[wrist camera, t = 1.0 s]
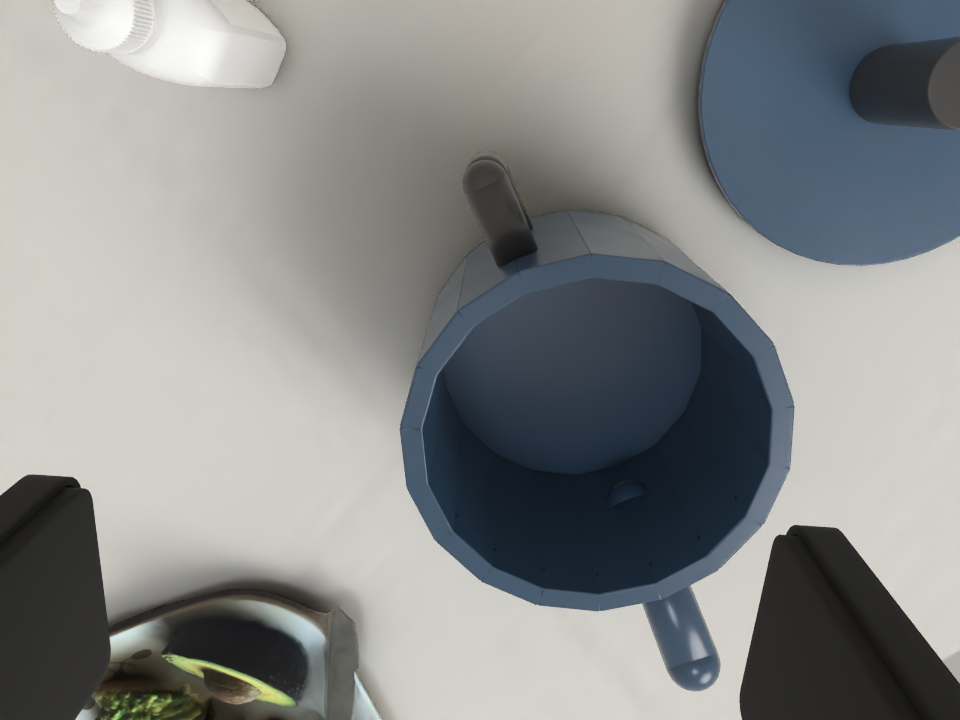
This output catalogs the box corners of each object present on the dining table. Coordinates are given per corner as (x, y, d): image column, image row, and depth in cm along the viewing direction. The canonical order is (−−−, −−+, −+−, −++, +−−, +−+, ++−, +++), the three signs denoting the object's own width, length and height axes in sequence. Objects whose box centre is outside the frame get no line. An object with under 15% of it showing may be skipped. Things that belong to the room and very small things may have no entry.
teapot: (656, 157, 33) (720, 184, 23) (753, 424, 37) (840, 538, 28) (377, 281, 35) (332, 351, 26) (497, 521, 39) (497, 657, 30)
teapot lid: (1018, -193, 28) (1181, -283, 22) (1087, 177, 33) (1241, 199, 26) (644, -13, 31) (685, -43, 24) (755, 310, 35) (816, 362, 28)
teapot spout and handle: (504, 139, 31) (505, 153, 24) (689, 579, 38) (734, 693, 30) (455, 162, 31) (442, 182, 24) (647, 593, 38) (682, 710, 31)
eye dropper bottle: (219, -63, 30) (53, -155, 19) (303, 63, 32) (196, 46, 21) (137, 3, 31) (-67, -48, 20) (223, 122, 33) (79, 138, 22)
